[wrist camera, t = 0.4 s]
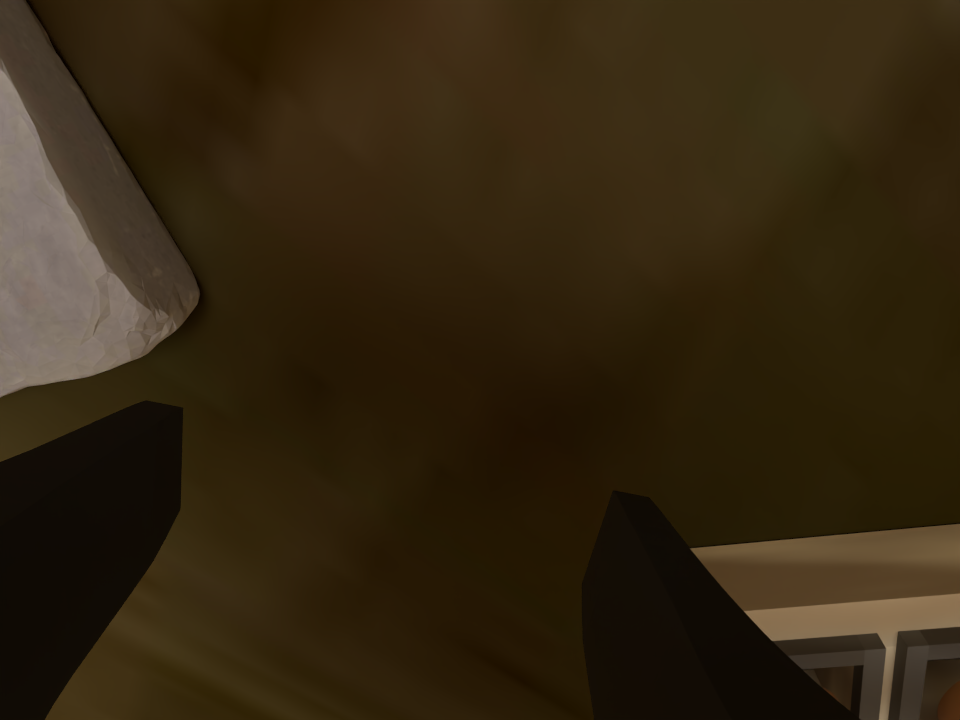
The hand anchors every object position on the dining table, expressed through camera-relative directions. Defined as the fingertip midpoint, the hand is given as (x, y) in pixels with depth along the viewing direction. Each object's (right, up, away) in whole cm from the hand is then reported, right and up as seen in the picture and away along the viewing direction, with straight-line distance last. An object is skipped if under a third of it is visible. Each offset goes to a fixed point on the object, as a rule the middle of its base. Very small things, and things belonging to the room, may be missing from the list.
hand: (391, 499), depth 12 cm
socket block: (+14, -7, +14) cm, 21 cm away
